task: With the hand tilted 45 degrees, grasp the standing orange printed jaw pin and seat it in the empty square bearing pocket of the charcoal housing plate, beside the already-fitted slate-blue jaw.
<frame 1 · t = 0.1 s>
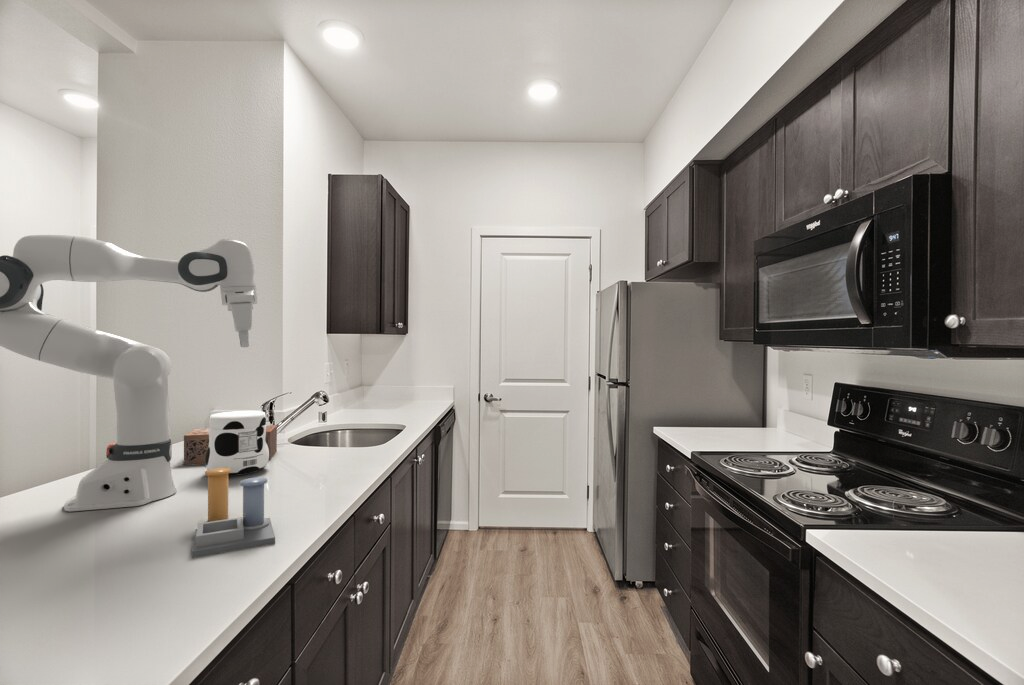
hand: (244, 347, 143), 39 cm above the counter, tool pointing down, fingers open, 8 cm apart
jaw pin: (218, 519, 114), on the counter
milk container: (237, 473, 156), on the counter
housing: (234, 538, 103), on the counter
tissue box cover: (233, 459, 175), on the counter
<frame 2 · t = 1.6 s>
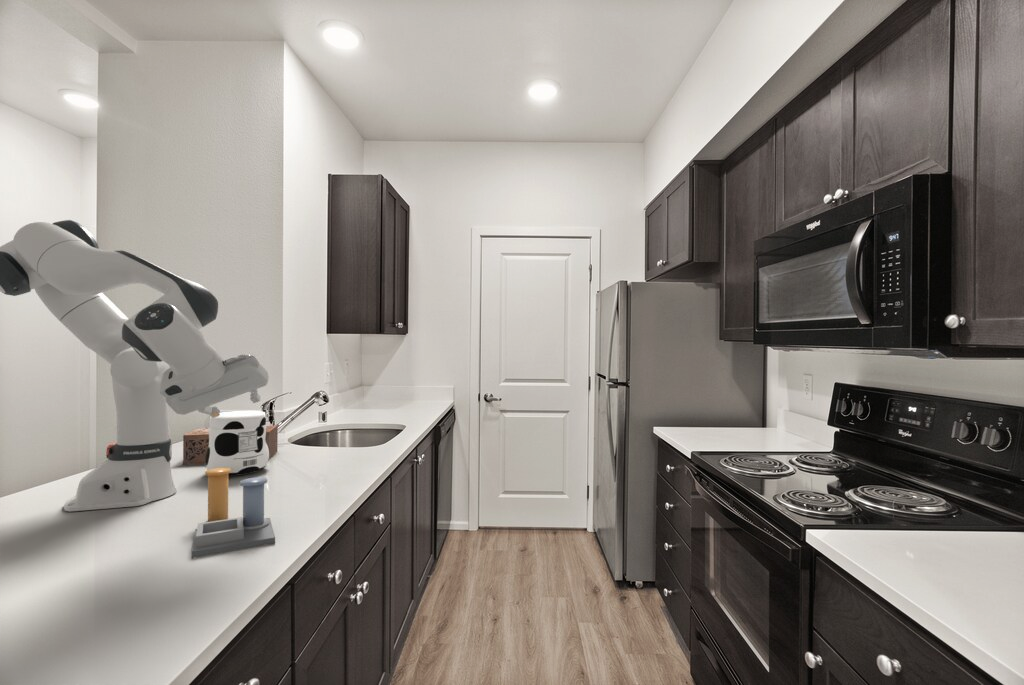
hand: (237, 407, 117), 25 cm above the counter, tool tilted 45°, fingers open, 8 cm apart
nothing on the counter moved.
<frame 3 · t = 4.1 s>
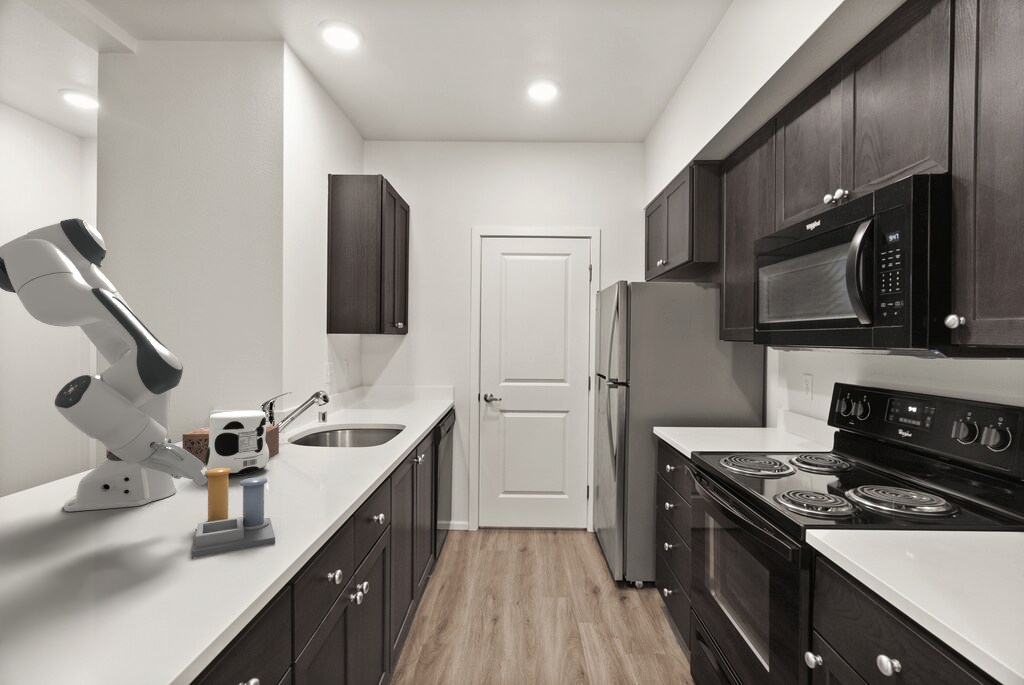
hand: (191, 479, 110), 10 cm above the counter, tool tilted 45°, fingers open, 8 cm apart
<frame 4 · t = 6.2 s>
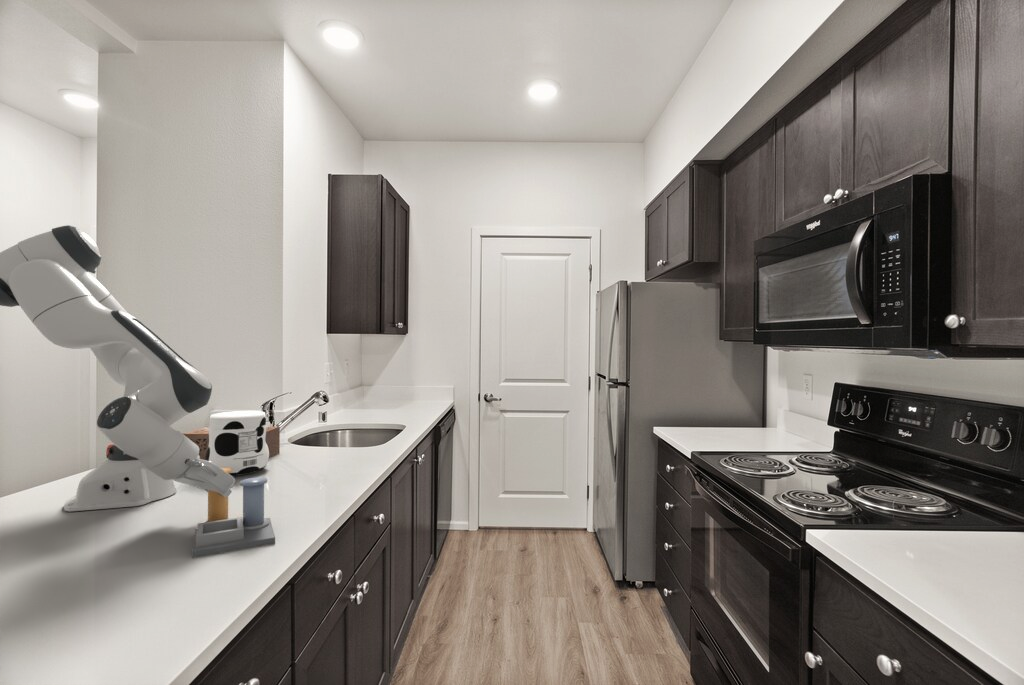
hand: (220, 492, 115), 6 cm above the counter, tool tilted 45°, fingers closed on jaw pin, 4 cm apart
jaw pin: (218, 519, 114), on the counter, touching gripper
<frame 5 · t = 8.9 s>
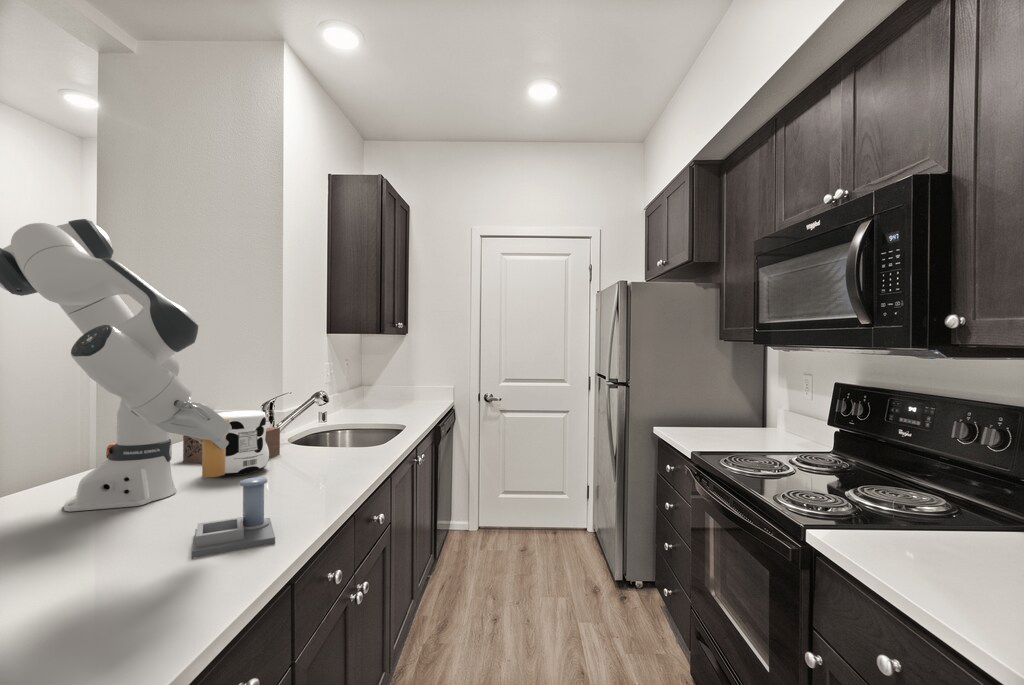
hand: (217, 444, 101), 20 cm above the counter, tool tilted 45°, fingers closed on jaw pin, 4 cm apart
jaw pin: (213, 474, 101), point 14 cm above the counter, touching gripper
when the fingers open (9 cm above the counter, at t = 11.4 s): jaw pin drops 1 cm, resting on housing.
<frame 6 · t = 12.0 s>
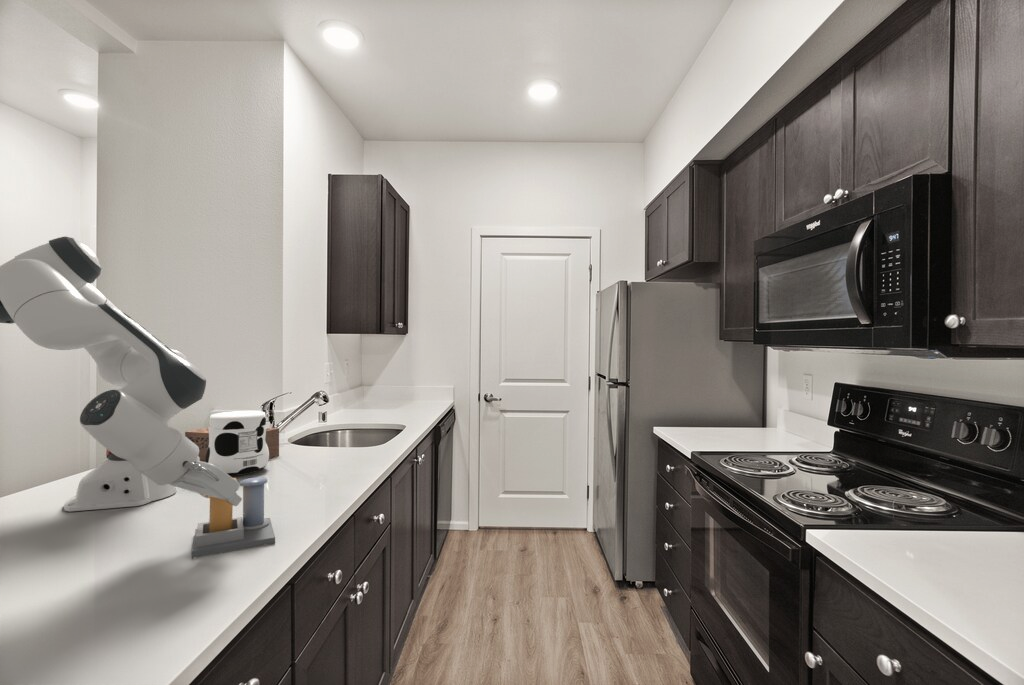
hand: (223, 498, 102), 9 cm above the counter, tool tilted 45°, fingers open, 8 cm apart
jaw pin: (220, 535, 101), point 1 cm above the counter, touching housing
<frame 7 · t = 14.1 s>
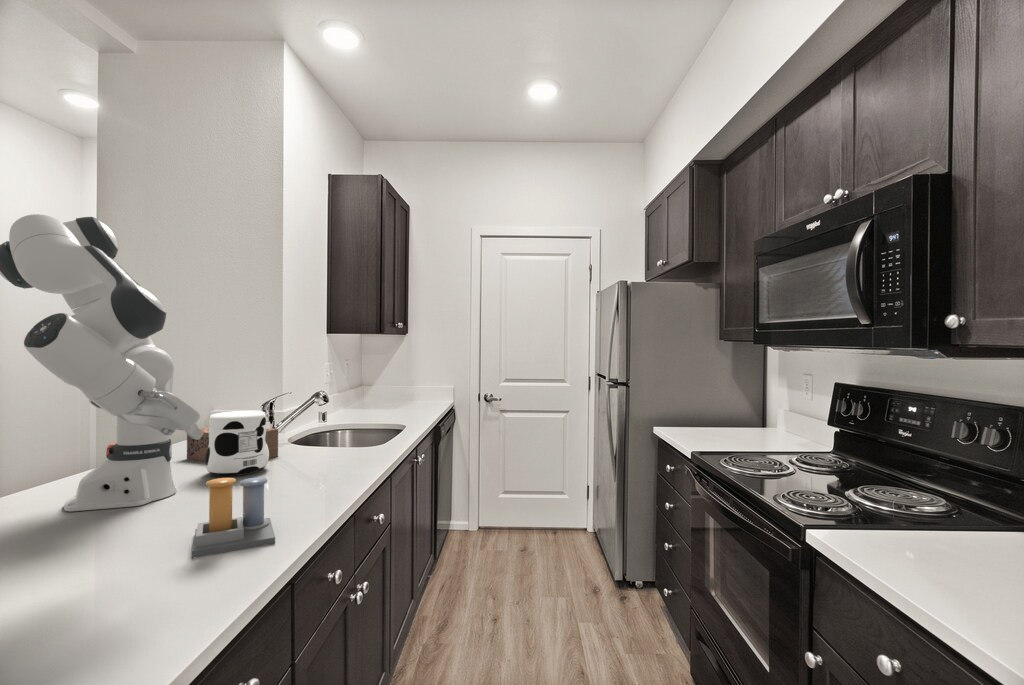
hand: (184, 434, 99), 22 cm above the counter, tool tilted 45°, fingers open, 8 cm apart
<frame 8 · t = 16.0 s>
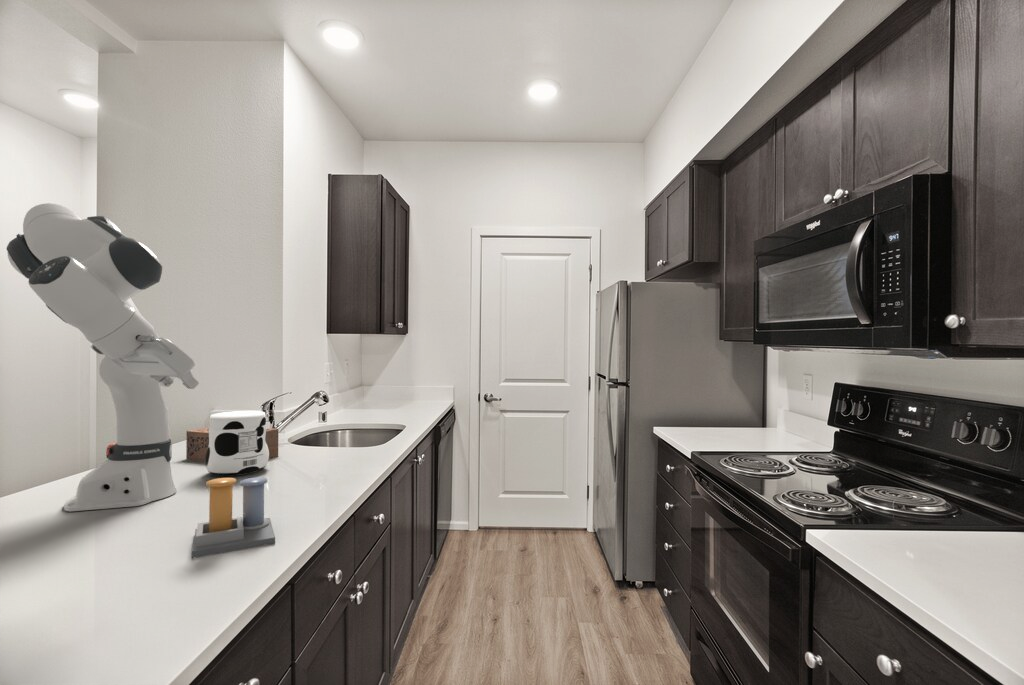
hand: (181, 385, 102), 31 cm above the counter, tool tilted 45°, fingers open, 8 cm apart
at the end: jaw pin 0.1 cm from the target spot on the housing, point 1.2 cm above the housing's base; jaw pin tilted 1°; the gripper is holding nothing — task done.
